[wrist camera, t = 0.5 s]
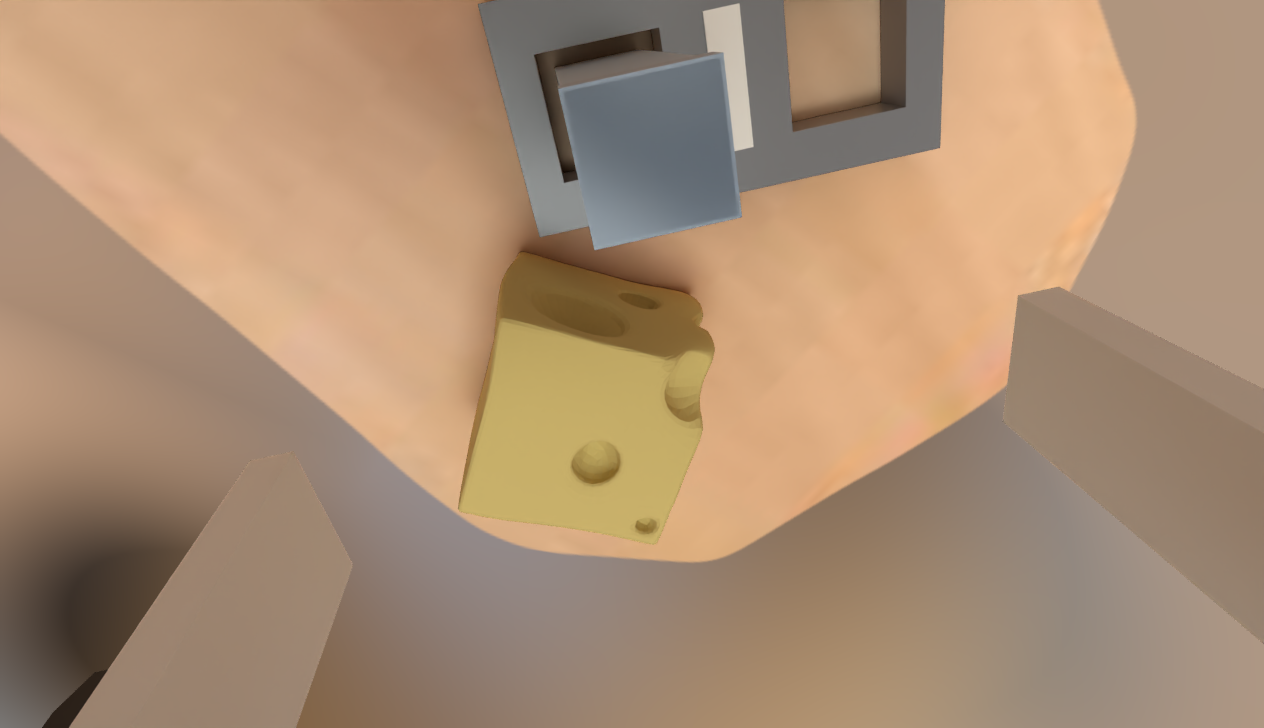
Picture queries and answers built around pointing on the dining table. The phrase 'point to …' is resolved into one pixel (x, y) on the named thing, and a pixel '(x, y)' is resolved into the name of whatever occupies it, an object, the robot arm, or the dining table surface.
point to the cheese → (587, 402)
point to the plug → (650, 143)
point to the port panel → (756, 81)
